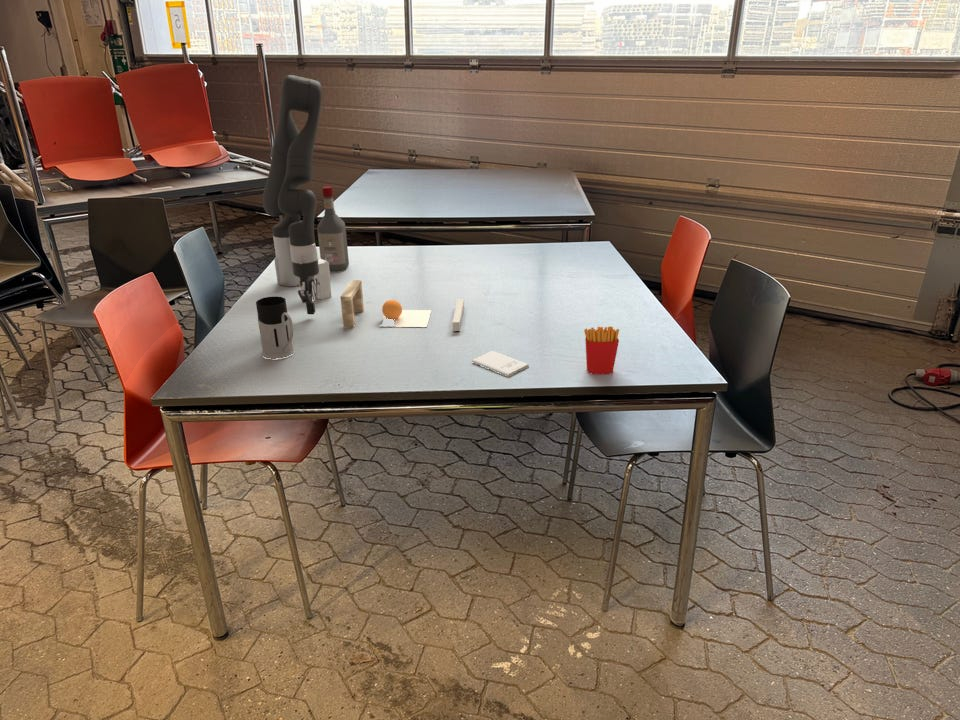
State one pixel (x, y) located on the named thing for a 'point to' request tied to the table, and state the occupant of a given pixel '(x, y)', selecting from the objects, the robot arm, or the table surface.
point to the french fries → (601, 349)
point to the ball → (392, 309)
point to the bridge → (351, 302)
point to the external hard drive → (500, 363)
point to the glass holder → (275, 327)
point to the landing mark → (413, 318)
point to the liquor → (332, 235)
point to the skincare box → (323, 280)
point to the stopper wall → (458, 315)
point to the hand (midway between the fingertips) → (311, 313)
